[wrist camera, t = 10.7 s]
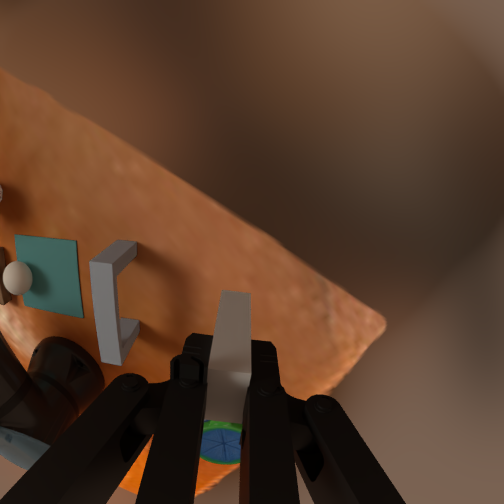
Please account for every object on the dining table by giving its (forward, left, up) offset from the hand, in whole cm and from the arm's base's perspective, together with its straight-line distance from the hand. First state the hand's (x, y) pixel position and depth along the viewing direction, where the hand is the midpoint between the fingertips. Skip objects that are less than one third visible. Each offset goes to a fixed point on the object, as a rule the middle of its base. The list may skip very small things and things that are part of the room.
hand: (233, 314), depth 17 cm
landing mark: (-12, +31, -26) cm, 42 cm away
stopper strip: (-13, +42, -26) cm, 51 cm away
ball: (-12, +35, -23) cm, 44 cm away
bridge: (-12, +16, -26) cm, 33 cm away
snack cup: (-33, 0, -26) cm, 42 cm away
